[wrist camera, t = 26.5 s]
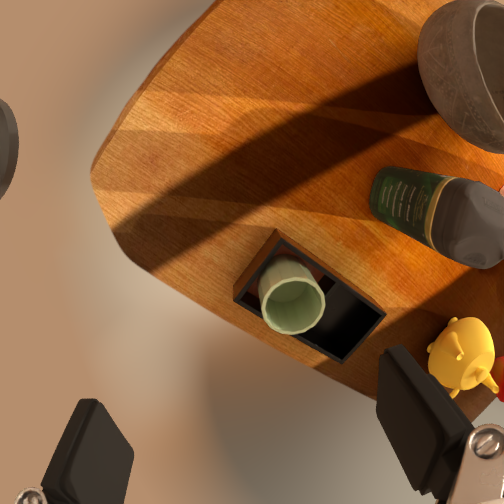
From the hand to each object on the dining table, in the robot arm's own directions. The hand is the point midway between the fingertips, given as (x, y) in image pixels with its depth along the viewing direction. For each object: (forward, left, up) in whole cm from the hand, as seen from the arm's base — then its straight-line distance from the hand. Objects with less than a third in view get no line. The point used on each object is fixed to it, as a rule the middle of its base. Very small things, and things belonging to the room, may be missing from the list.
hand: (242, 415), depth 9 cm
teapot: (+32, -29, -31) cm, 53 cm away
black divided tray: (+7, -12, -31) cm, 34 cm away
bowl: (+35, +15, -31) cm, 49 cm away
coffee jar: (+22, -1, -31) cm, 38 cm away
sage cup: (+4, -9, -30) cm, 32 cm away
